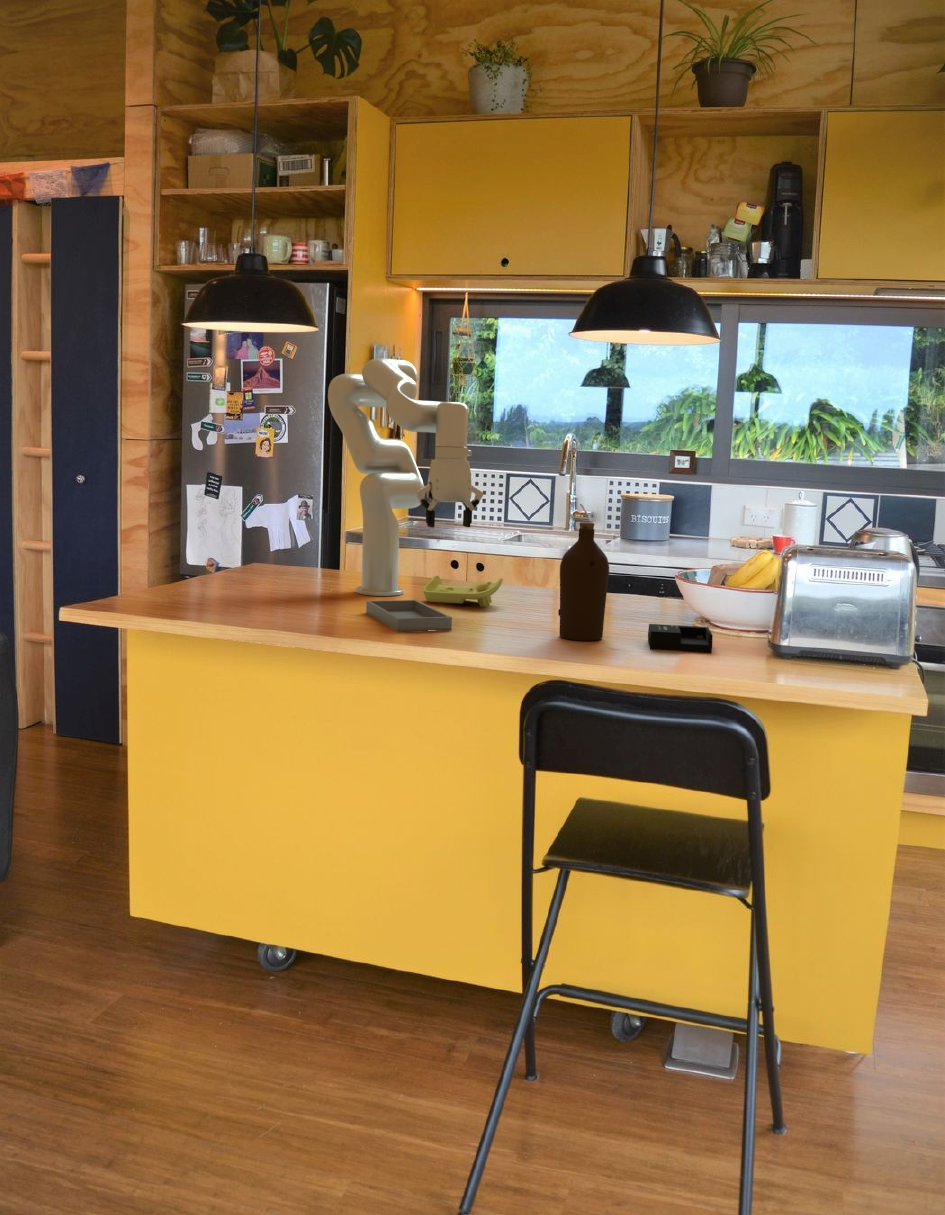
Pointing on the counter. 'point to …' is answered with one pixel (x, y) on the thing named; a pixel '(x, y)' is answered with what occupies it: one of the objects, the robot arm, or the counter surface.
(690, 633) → the battery charger
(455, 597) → the plastic component
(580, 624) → the olive oil
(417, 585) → the counter surface
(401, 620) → the tray
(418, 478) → the robot arm
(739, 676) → the counter surface
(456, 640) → the counter surface
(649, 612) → the counter surface
